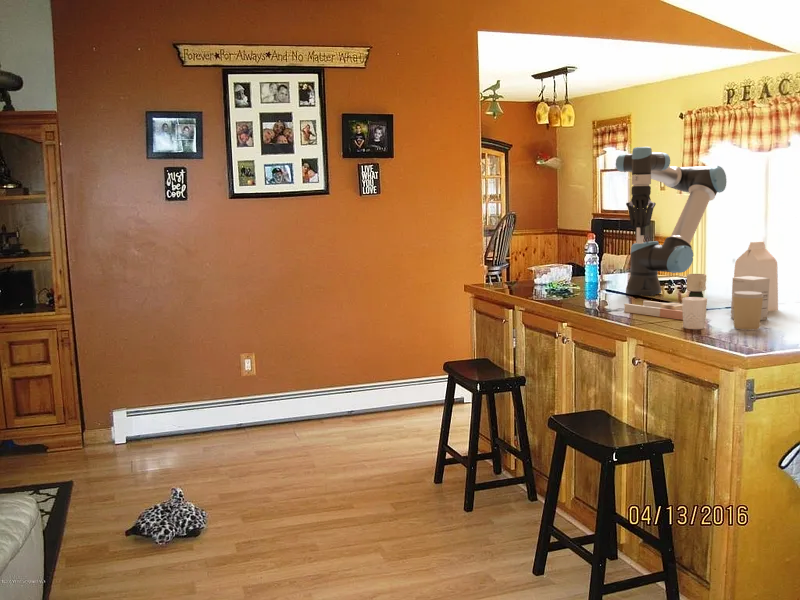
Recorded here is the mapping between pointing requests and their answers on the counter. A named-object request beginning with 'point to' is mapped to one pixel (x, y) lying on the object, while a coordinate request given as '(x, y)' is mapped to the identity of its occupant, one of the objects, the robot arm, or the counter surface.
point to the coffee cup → (747, 309)
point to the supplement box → (752, 285)
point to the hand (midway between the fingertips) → (639, 243)
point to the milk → (759, 269)
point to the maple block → (672, 306)
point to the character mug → (696, 284)
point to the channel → (653, 310)
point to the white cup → (694, 312)
